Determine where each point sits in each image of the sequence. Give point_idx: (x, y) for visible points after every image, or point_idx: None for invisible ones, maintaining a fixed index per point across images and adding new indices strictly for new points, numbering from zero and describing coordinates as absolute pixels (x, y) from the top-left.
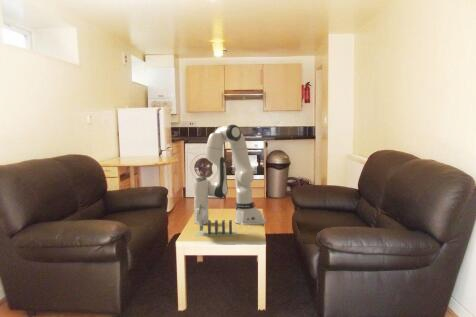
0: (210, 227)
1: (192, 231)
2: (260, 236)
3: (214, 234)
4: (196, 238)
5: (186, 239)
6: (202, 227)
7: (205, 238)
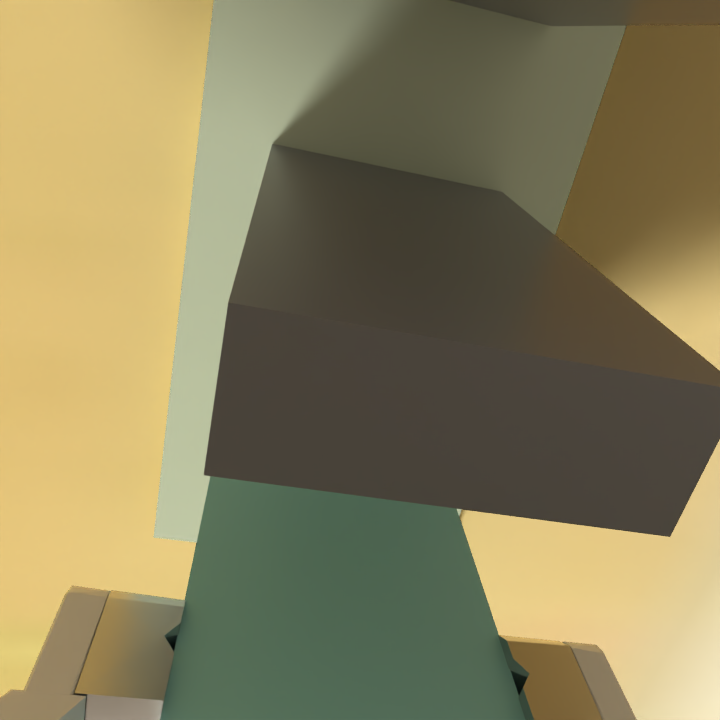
0: (516, 247)
1: (55, 616)
2: None
3: (536, 47)
4: (614, 543)
5: None
6: (413, 547)
7: (710, 351)
